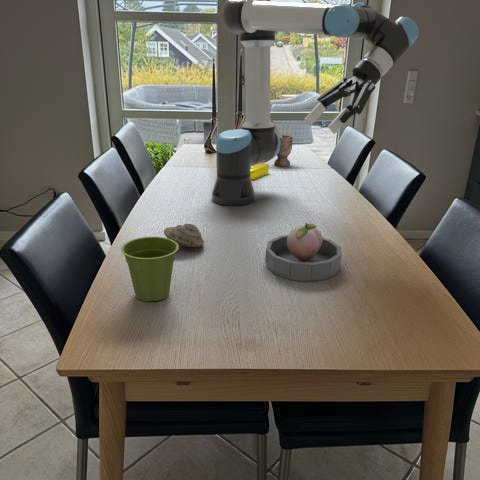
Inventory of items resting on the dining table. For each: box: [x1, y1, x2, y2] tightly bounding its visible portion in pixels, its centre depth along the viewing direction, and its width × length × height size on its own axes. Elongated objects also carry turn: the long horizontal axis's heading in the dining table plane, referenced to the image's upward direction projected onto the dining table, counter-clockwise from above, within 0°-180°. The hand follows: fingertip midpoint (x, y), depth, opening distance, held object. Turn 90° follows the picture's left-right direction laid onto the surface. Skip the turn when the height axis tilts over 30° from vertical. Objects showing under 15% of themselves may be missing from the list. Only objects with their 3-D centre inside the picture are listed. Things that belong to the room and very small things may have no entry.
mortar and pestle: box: [270, 118, 293, 167], centre depth 209 cm, size 12×9×20 cm
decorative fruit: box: [287, 222, 324, 261], centre depth 114 cm, size 9×8×10 cm
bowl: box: [264, 234, 342, 283], centre depth 115 cm, size 18×18×4 cm
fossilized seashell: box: [163, 223, 205, 248], centre depth 125 cm, size 11×11×7 cm
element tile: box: [250, 162, 270, 181], centre depth 196 cm, size 15×15×5 cm
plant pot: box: [120, 236, 180, 302], centre depth 99 cm, size 12×12×11 cm
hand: (318, 126), depth 129 cm, fingers open, 13 cm apart
